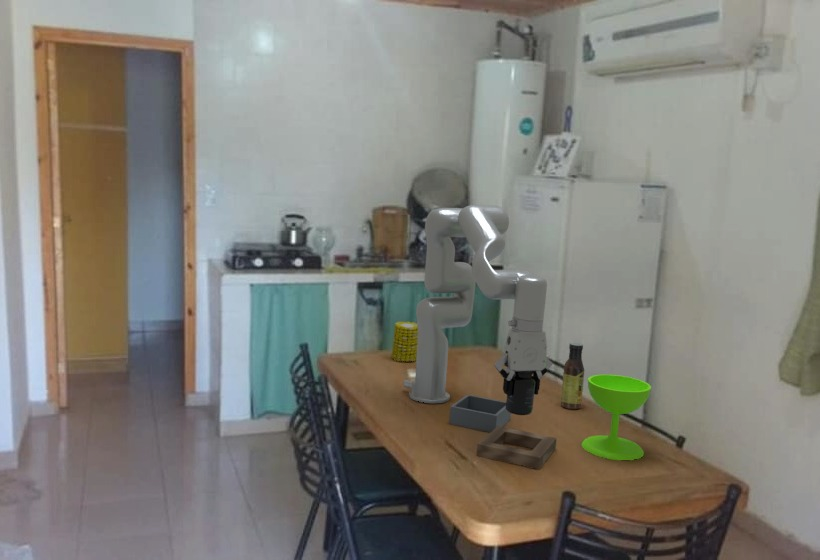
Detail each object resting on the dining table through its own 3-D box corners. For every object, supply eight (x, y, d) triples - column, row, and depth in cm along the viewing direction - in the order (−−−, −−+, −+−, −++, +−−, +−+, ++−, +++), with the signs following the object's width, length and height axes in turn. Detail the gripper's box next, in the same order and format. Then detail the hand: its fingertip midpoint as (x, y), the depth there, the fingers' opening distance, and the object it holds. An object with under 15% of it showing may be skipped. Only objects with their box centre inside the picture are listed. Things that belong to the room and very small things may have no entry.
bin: (449, 423, 210) (450, 406, 210) (466, 410, 223) (467, 394, 222) (495, 433, 205) (496, 415, 204) (510, 419, 217) (511, 403, 216)
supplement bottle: (500, 410, 190) (504, 364, 188) (514, 404, 195) (519, 360, 194) (523, 417, 186) (528, 371, 184) (537, 411, 191) (542, 366, 189)
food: (410, 360, 283) (418, 368, 274) (381, 353, 280) (388, 362, 270) (422, 322, 282) (430, 329, 272) (393, 315, 278) (400, 322, 268)
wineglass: (647, 445, 203) (654, 381, 200) (639, 465, 188) (647, 396, 185) (587, 434, 209) (594, 371, 206) (575, 452, 194) (582, 385, 192)
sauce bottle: (581, 411, 229) (587, 347, 226) (560, 408, 230) (566, 345, 227) (580, 404, 235) (586, 343, 233) (560, 402, 237) (566, 341, 234)
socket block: (476, 455, 188) (477, 444, 187) (496, 436, 202) (497, 426, 202) (539, 469, 181) (540, 457, 181) (555, 449, 196) (556, 438, 195)
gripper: (503, 329, 181) (496, 400, 183) (565, 328, 187) (558, 396, 190) (489, 321, 187) (483, 390, 190) (550, 321, 194) (543, 387, 196)
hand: (520, 393), depth 190 cm, fingers closed on supplement bottle, 6 cm apart
